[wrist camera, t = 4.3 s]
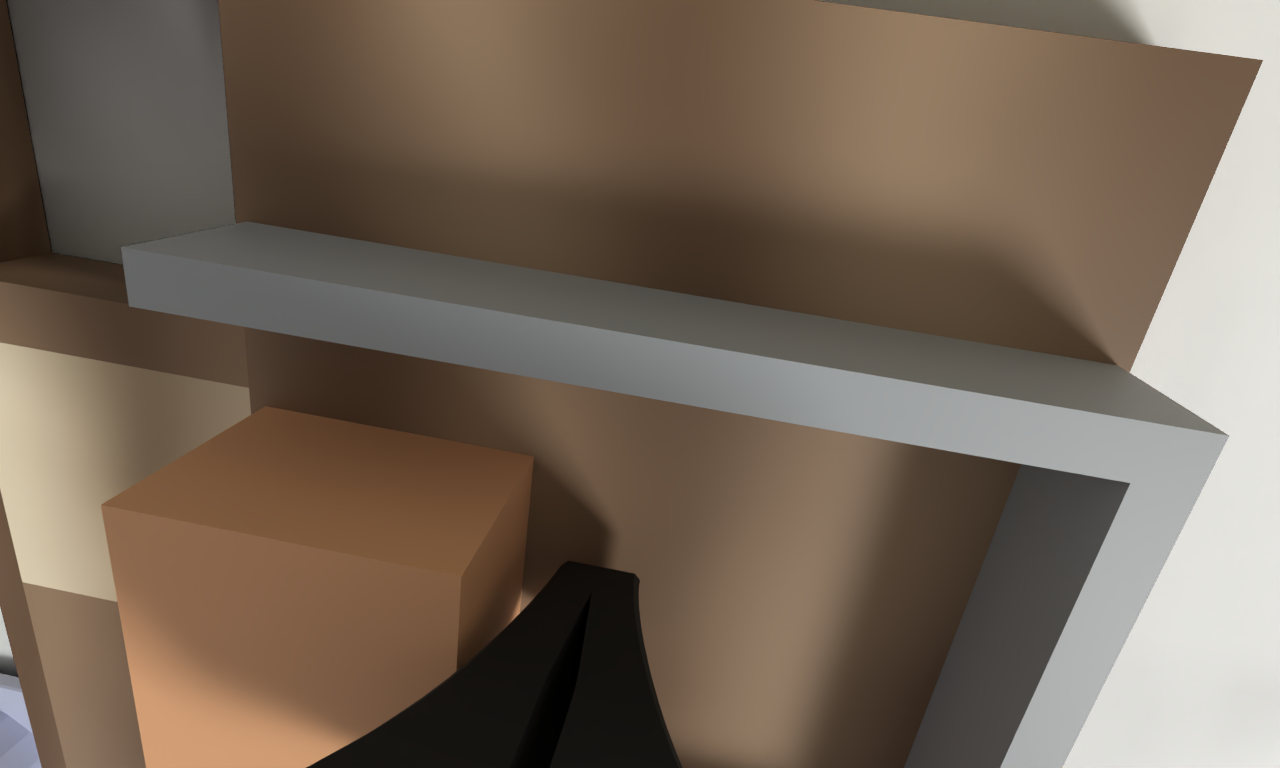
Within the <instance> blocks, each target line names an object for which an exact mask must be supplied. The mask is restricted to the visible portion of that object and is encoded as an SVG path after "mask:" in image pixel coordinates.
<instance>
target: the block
mask: <svg viewBox="0 0 1280 768" xmlns="http://www.w3.org/2000/svg"><path fill="white" fill-rule="evenodd" d="M533 463H534V456H530V455H525V454H520V453H514V452H509V451H504V450H498V449H493V448H487V447H482V446H477V445H471V444H466V443H461V442H455V441H450V440H444V439H439V438H434V437H428V436H423V435H418V434H412V433H407V432H401V431H396V430H391V429H385V428H380V427H375V426H369V425H364V424H358V423H353V422H348V421H342V420H337V419H332V418H326V417H321V416H315V415H310V414H305V413H299V412H294V411H289V410H283V409H278V408H273V407H267V406H265V407H263V408H262V409H260V410H258V411H257V412H255V413H253V414H252V415H250V416H248V417H247V418H245V419H243V420H242V421H240V422H238V423H237V424H235V425H233V426H232V427H230V428H228V429H227V430H225V431H223V432H222V433H220V434H218V435H217V436H215V437H213V438H212V439H210V440H208V441H207V442H205V443H203V444H202V445H200V446H198V447H196V448H195V449H193V450H191V451H190V452H188V453H186V454H185V455H183V456H181V457H180V458H178V459H176V460H175V461H173V462H171V463H170V464H168V465H166V466H165V467H163V468H161V469H160V470H158V471H156V472H155V473H153V474H151V475H150V476H148V477H146V478H145V479H143V480H141V481H140V482H138V483H136V484H135V485H133V486H131V487H130V488H128V489H126V490H125V491H123V492H121V493H120V494H118V495H116V496H115V497H113V498H111V499H110V500H108V501H106V502H105V503H103V504H101V509H102V515H103V521H104V526H105V532H106V538H107V544H108V550H109V555H110V561H111V567H112V573H113V579H114V584H115V590H116V596H117V602H118V608H119V613H120V619H121V625H122V631H123V637H124V642H125V648H126V654H127V660H128V666H129V671H130V677H131V683H132V689H133V695H134V701H135V706H136V712H137V718H138V724H139V730H140V735H141V741H142V747H143V753H144V759H145V764H146V768H306V767H308V766H310V765H312V764H314V763H316V762H317V761H319V760H321V759H323V758H325V757H326V756H328V755H330V754H332V753H334V752H335V751H337V750H339V749H341V748H342V747H344V746H346V745H348V744H350V743H351V742H353V741H355V740H357V739H359V738H360V737H362V736H364V735H366V734H367V733H369V732H371V731H372V730H374V729H375V728H377V727H379V726H380V725H382V724H383V723H385V722H387V721H388V720H390V719H391V718H393V717H394V716H396V715H397V714H399V713H400V712H401V711H403V710H404V709H406V708H407V707H409V706H410V705H412V704H413V703H415V702H416V701H418V700H419V699H421V698H422V697H423V696H425V695H426V694H428V693H429V692H430V691H432V690H433V689H434V688H436V687H437V686H438V685H440V684H441V683H442V682H444V681H445V680H446V679H447V678H449V677H450V676H451V675H453V674H454V673H455V672H456V671H457V670H459V669H460V668H461V667H462V666H464V665H465V664H466V663H467V662H468V661H469V660H471V659H472V658H473V657H474V656H475V655H476V654H477V653H478V652H480V651H481V650H482V649H483V648H484V647H485V646H486V645H487V644H488V643H490V642H491V641H492V640H493V639H494V638H495V637H496V636H497V635H498V634H499V633H501V632H502V631H503V630H504V629H505V628H506V627H507V626H508V625H509V624H510V623H511V622H512V621H513V620H514V619H515V618H516V617H517V615H518V614H519V613H520V605H521V594H522V583H523V572H524V561H525V550H526V539H527V528H528V517H529V506H530V495H531V485H532V474H533Z"/></svg>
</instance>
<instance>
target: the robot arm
mask: <svg viewBox="0 0 1280 768" xmlns="http://www.w3.org/2000/svg"><path fill="white" fill-rule="evenodd" d="M639 583H640V580H639V578H638V577H637V576H636V574H635V573H630V572H624V571H619V570H614V569H609V568H604V567H599V566H594V565H589V564H584V563H579V562H573V561H567V562H565V563H563V564H562V565H561V566H560V567H559V569H558V570H557V572H556V573H555V574H554V575H553V577H552V578H551V579H550V580H549V582H548V583H547V584H546V585H545V586H544V587H543V589H542V590H541V591H540V592H539V593H538V594H537V595H536V596H535V598H534V599H533V600H532V601H531V602H530V603H529V604H528V605H527V606H526V607H525V608H524V609H523V610H522V611H521V612H520V613H519V614H518V615H517V617H516V618H515V619H514V620H513V621H512V622H511V623H510V624H509V625H508V626H507V627H506V628H505V629H504V630H503V631H502V632H501V633H499V634H498V635H497V636H496V637H495V638H494V639H493V640H492V641H491V642H490V643H488V644H487V645H486V646H485V647H484V648H483V649H482V650H481V651H480V652H478V653H477V654H476V655H475V656H474V657H473V658H472V659H471V660H469V661H468V662H467V663H466V664H465V665H464V666H462V667H461V668H460V669H459V670H457V671H456V672H455V673H454V674H453V675H451V676H450V677H449V678H447V679H446V680H445V681H444V682H442V683H441V684H440V685H438V686H437V687H436V688H434V689H433V690H432V691H430V692H429V693H428V694H426V695H425V696H423V697H422V698H421V699H419V700H418V701H416V702H415V703H413V704H412V705H410V706H409V707H407V708H406V709H404V710H403V711H401V712H400V713H399V714H397V715H396V716H394V717H393V718H391V719H390V720H388V721H387V722H385V723H383V724H382V725H380V726H379V727H377V728H375V729H374V730H372V731H371V732H369V733H367V734H366V735H364V736H362V737H360V738H359V739H357V740H355V741H353V742H351V743H350V744H348V745H346V746H344V747H342V748H341V749H339V750H337V751H335V752H334V753H332V754H330V755H328V756H326V757H325V758H323V759H321V760H319V761H317V762H316V763H314V764H312V765H310V766H308V767H306V768H683V767H682V765H681V763H680V760H679V758H678V755H677V753H676V750H675V748H674V745H673V742H672V740H671V737H670V734H669V732H668V729H667V726H666V723H665V720H664V717H663V714H662V711H661V708H660V705H659V701H658V698H657V694H656V691H655V687H654V684H653V680H652V676H651V672H650V668H649V664H648V659H647V654H646V649H645V645H644V640H643V634H642V628H641V620H640V611H639ZM0 768H42V767H41V763H40V759H39V755H38V752H37V748H36V744H35V740H34V736H33V732H32V728H31V724H30V720H29V717H28V713H27V709H26V705H25V701H24V697H23V693H22V689H21V685H20V681H19V678H18V677H15V676H11V675H6V674H2V673H0Z"/></svg>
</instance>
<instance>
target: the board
mask: <svg viewBox="0 0 1280 768" xmlns="http://www.w3.org/2000/svg"><path fill="white" fill-rule="evenodd" d="M218 5H219V18H220V30H221V43H222V55H223V68H224V81H225V93H226V106H227V118H228V131H229V143H230V156H231V169H232V181H233V194H234V206H235V219H236V224H237V223H242V222H253V223H259V224H265V225H271V226H277V227H283V228H289V229H295V230H302V231H308V232H314V233H320V234H326V235H332V236H338V237H344V238H350V239H356V240H362V241H368V242H374V243H380V244H386V245H392V246H398V247H404V248H410V249H416V250H423V251H429V252H435V253H441V254H447V255H453V256H459V257H465V258H471V259H477V260H483V261H489V262H495V263H501V264H507V265H513V266H519V267H525V268H531V269H538V270H544V271H550V272H556V273H562V274H568V275H574V276H580V277H586V278H592V279H598V280H604V281H610V282H616V283H622V284H628V285H634V286H640V287H646V288H652V289H659V290H665V291H671V292H677V293H683V294H689V295H695V296H701V297H707V298H713V299H719V300H725V301H731V302H737V303H743V304H749V305H755V306H761V307H767V308H773V309H780V310H786V311H792V312H798V313H804V314H810V315H816V316H822V317H828V318H834V319H840V320H846V321H852V322H858V323H864V324H870V325H876V326H882V327H888V328H895V329H901V330H907V331H913V332H919V333H925V334H931V335H937V336H943V337H949V338H955V339H961V340H967V341H973V342H979V343H985V344H991V345H997V346H1003V347H1009V348H1016V349H1022V350H1028V351H1034V352H1040V353H1046V354H1052V355H1058V356H1064V357H1070V358H1076V359H1082V360H1088V361H1094V362H1100V363H1106V364H1112V365H1118V366H1119V367H1121V368H1123V369H1124V370H1126V371H1127V372H1130V370H1131V367H1132V365H1133V363H1134V360H1135V358H1136V356H1137V353H1138V351H1139V349H1140V346H1141V344H1142V342H1143V339H1144V337H1145V335H1146V332H1147V330H1148V328H1149V325H1150V323H1151V321H1152V318H1153V316H1154V314H1155V311H1156V309H1157V307H1158V304H1159V302H1160V300H1161V297H1162V295H1163V293H1164V290H1165V288H1166V286H1167V283H1168V281H1169V279H1170V276H1171V274H1172V272H1173V269H1174V267H1175V265H1176V262H1177V260H1178V258H1179V255H1180V253H1181V251H1182V248H1183V246H1184V244H1185V241H1186V239H1187V237H1188V234H1189V232H1190V230H1191V227H1192V225H1193V223H1194V220H1195V218H1196V216H1197V213H1198V211H1199V209H1200V206H1201V204H1202V202H1203V199H1204V197H1205V195H1206V192H1207V190H1208V188H1209V185H1210V183H1211V181H1212V178H1213V176H1214V174H1215V171H1216V169H1217V166H1218V164H1219V162H1220V159H1221V157H1222V155H1223V152H1224V150H1225V148H1226V145H1227V143H1228V141H1229V138H1230V136H1231V134H1232V131H1233V129H1234V127H1235V124H1236V122H1237V120H1238V117H1239V115H1240V113H1241V110H1242V108H1243V106H1244V103H1245V101H1246V99H1247V96H1248V94H1249V92H1250V89H1251V87H1252V85H1253V82H1254V80H1255V78H1256V75H1257V73H1258V71H1259V68H1260V66H1261V64H1262V61H1263V60H1257V59H1250V58H1242V57H1235V56H1227V55H1220V54H1212V53H1205V52H1197V51H1190V50H1182V49H1175V48H1167V47H1160V46H1152V45H1145V44H1138V43H1130V42H1123V41H1115V40H1108V39H1100V38H1093V37H1085V36H1078V35H1070V34H1063V33H1055V32H1048V31H1040V30H1033V29H1025V28H1018V27H1010V26H1003V25H995V24H988V23H980V22H973V21H965V20H958V19H951V18H943V17H936V16H928V15H921V14H913V13H906V12H898V11H891V10H883V9H876V8H868V7H861V6H853V5H846V4H838V3H831V2H823V1H816V0H218ZM265 406H267V407H273V408H278V409H283V410H289V411H294V412H299V413H305V414H310V415H315V416H321V417H326V418H332V419H337V420H342V421H348V422H353V423H358V424H364V425H369V426H375V427H380V428H385V429H391V430H396V431H401V432H407V433H412V434H418V435H423V436H428V437H434V438H439V439H444V440H450V441H455V442H461V443H466V444H471V445H477V446H482V447H487V448H493V449H498V450H504V451H509V452H514V453H520V454H525V455H530V456H534V463H533V474H532V485H531V495H530V506H529V517H528V528H527V539H526V550H525V561H524V572H523V583H522V594H521V605H520V612H521V611H522V610H523V609H524V608H525V607H526V606H527V605H528V604H529V603H530V602H531V601H532V600H533V599H534V598H535V596H536V595H537V594H538V593H539V592H540V591H541V590H542V589H543V587H544V586H545V585H546V584H547V583H548V582H549V580H550V579H551V578H552V577H553V575H554V574H555V573H556V572H557V570H558V569H559V567H560V566H561V565H562V564H563V563H565V562H567V561H573V562H579V563H584V564H589V565H594V566H599V567H604V568H609V569H614V570H619V571H624V572H630V573H635V574H636V576H637V577H638V578H639V580H640V583H639V611H640V620H641V628H642V634H643V640H644V645H645V649H646V654H647V659H648V664H649V668H650V672H651V676H652V680H653V684H654V687H655V691H656V694H657V698H658V701H659V705H660V708H661V711H662V714H663V717H664V720H665V723H666V726H667V729H668V732H669V734H670V737H671V740H672V742H673V745H674V748H675V750H676V753H677V755H678V758H679V760H680V763H681V765H682V767H683V768H904V766H905V764H906V761H907V759H908V756H909V753H910V751H911V748H912V746H913V743H914V741H915V738H916V735H917V733H918V730H919V728H920V725H921V722H922V720H923V717H924V715H925V712H926V709H927V707H928V704H929V702H930V699H931V696H932V694H933V691H934V689H935V686H936V684H937V681H938V678H939V676H940V673H941V671H942V668H943V665H944V663H945V660H946V658H947V655H948V652H949V650H950V647H951V645H952V642H953V639H954V637H955V634H956V632H957V629H958V627H959V624H960V621H961V619H962V616H963V614H964V611H965V608H966V606H967V603H968V601H969V598H970V595H971V593H972V590H973V588H974V585H975V582H976V580H977V577H978V575H979V572H980V570H981V567H982V564H983V562H984V559H985V557H986V554H987V551H988V549H989V546H990V544H991V541H992V538H993V536H994V533H995V531H996V528H997V525H998V523H999V520H1000V518H1001V515H1002V513H1003V510H1004V507H1005V505H1006V502H1007V500H1008V497H1009V494H1010V492H1011V489H1012V487H1013V484H1014V481H1015V479H1016V476H1017V474H1018V471H1019V468H1020V466H1021V464H1019V463H1014V462H1008V461H1002V460H997V459H991V458H985V457H980V456H974V455H968V454H963V453H957V452H951V451H946V450H940V449H934V448H929V447H923V446H917V445H912V444H906V443H900V442H895V441H889V440H883V439H878V438H872V437H866V436H861V435H855V434H849V433H844V432H838V431H832V430H827V429H821V428H815V427H810V426H804V425H798V424H793V423H787V422H781V421H776V420H770V419H764V418H759V417H753V416H747V415H742V414H736V413H730V412H725V411H719V410H713V409H708V408H702V407H696V406H691V405H685V404H679V403H674V402H668V401H662V400H657V399H651V398H645V397H640V396H634V395H628V394H623V393H617V392H611V391H606V390H600V389H594V388H589V387H583V386H577V385H572V384H566V383H560V382H555V381H549V380H543V379H538V378H532V377H526V376H521V375H515V374H509V373H504V372H498V371H492V370H487V369H481V368H475V367H470V366H464V365H458V364H453V363H447V362H441V361H436V360H430V359H424V358H419V357H413V356H407V355H402V354H396V353H390V352H385V351H379V350H373V349H368V348H362V347H356V346H351V345H345V344H339V343H334V342H328V341H322V340H317V339H311V338H305V337H300V336H294V335H288V334H283V333H277V332H271V331H266V330H260V329H254V328H249V327H243V326H237V325H232V324H226V323H220V322H215V321H209V320H203V319H198V318H192V317H186V316H181V315H175V314H169V313H164V312H158V311H152V310H147V309H141V308H135V307H130V306H129V302H128V295H127V288H126V281H125V274H124V267H123V265H120V264H114V263H108V262H102V261H96V260H91V259H85V258H79V257H73V256H67V255H61V254H56V253H51V248H50V242H49V237H48V231H47V225H46V220H45V214H44V209H43V203H42V198H41V192H40V187H39V181H38V175H37V170H36V164H35V159H34V153H33V148H32V142H31V137H30V131H29V125H28V120H27V114H26V109H25V103H24V98H23V92H22V87H21V81H20V76H19V70H18V64H17V59H16V53H15V48H14V42H13V37H12V31H11V26H10V20H9V14H8V9H7V3H6V0H0V607H1V611H2V615H3V619H4V623H5V627H6V631H7V635H8V639H9V642H10V646H11V650H12V654H13V658H14V662H15V666H16V670H17V674H18V678H19V681H20V685H21V689H22V693H23V697H24V701H25V705H26V709H27V713H28V717H29V720H30V724H31V728H32V732H33V736H34V740H35V744H36V748H37V752H38V755H39V759H40V763H41V767H42V768H146V764H145V759H144V753H143V747H142V741H141V735H140V730H139V724H138V718H137V712H136V706H135V701H134V695H133V689H132V683H131V677H130V671H129V666H128V660H127V654H126V648H125V642H124V637H123V631H122V625H121V619H120V613H119V608H118V602H117V596H116V590H115V584H114V579H113V573H112V567H111V561H110V555H109V550H108V544H107V538H106V532H105V526H104V521H103V515H102V509H101V504H103V503H105V502H106V501H108V500H110V499H111V498H113V497H115V496H116V495H118V494H120V493H121V492H123V491H125V490H126V489H128V488H130V487H131V486H133V485H135V484H136V483H138V482H140V481H141V480H143V479H145V478H146V477H148V476H150V475H151V474H153V473H155V472H156V471H158V470H160V469H161V468H163V467H165V466H166V465H168V464H170V463H171V462H173V461H175V460H176V459H178V458H180V457H181V456H183V455H185V454H186V453H188V452H190V451H191V450H193V449H195V448H196V447H198V446H200V445H202V444H203V443H205V442H207V441H208V440H210V439H212V438H213V437H215V436H217V435H218V434H220V433H222V432H223V431H225V430H227V429H228V428H230V427H232V426H233V425H235V424H237V423H238V422H240V421H242V420H243V419H245V418H247V417H248V416H250V415H252V414H253V413H255V412H257V411H258V410H260V409H262V408H263V407H265Z"/></svg>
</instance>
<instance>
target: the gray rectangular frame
mask: <svg viewBox="0 0 1280 768" xmlns="http://www.w3.org/2000/svg"><path fill="white" fill-rule="evenodd" d="M121 253H122V260H123V267H124V274H125V281H126V288H127V295H128V302H129V306H130V307H135V308H141V309H147V310H152V311H158V312H164V313H169V314H175V315H181V316H186V317H192V318H198V319H203V320H209V321H215V322H220V323H226V324H232V325H237V326H243V327H249V328H254V329H260V330H266V331H271V332H277V333H283V334H288V335H294V336H300V337H305V338H311V339H317V340H322V341H328V342H334V343H339V344H345V345H351V346H356V347H362V348H368V349H373V350H379V351H385V352H390V353H396V354H402V355H407V356H413V357H419V358H424V359H430V360H436V361H441V362H447V363H453V364H458V365H464V366H470V367H475V368H481V369H487V370H492V371H498V372H504V373H509V374H515V375H521V376H526V377H532V378H538V379H543V380H549V381H555V382H560V383H566V384H572V385H577V386H583V387H589V388H594V389H600V390H606V391H611V392H617V393H623V394H628V395H634V396H640V397H645V398H651V399H657V400H662V401H668V402H674V403H679V404H685V405H691V406H696V407H702V408H708V409H713V410H719V411H725V412H730V413H736V414H742V415H747V416H753V417H759V418H764V419H770V420H776V421H781V422H787V423H793V424H798V425H804V426H810V427H815V428H821V429H827V430H832V431H838V432H844V433H849V434H855V435H861V436H866V437H872V438H878V439H883V440H889V441H895V442H900V443H906V444H912V445H917V446H923V447H929V448H934V449H940V450H946V451H951V452H957V453H963V454H968V455H974V456H980V457H985V458H991V459H997V460H1002V461H1008V462H1014V463H1019V464H1021V466H1020V468H1019V471H1018V474H1017V476H1016V479H1015V481H1014V484H1013V487H1012V489H1011V492H1010V494H1009V497H1008V500H1007V502H1006V505H1005V507H1004V510H1003V513H1002V515H1001V518H1000V520H999V523H998V525H997V528H996V531H995V533H994V536H993V538H992V541H991V544H990V546H989V549H988V551H987V554H986V557H985V559H984V562H983V564H982V567H981V570H980V572H979V575H978V577H977V580H976V582H975V585H974V588H973V590H972V593H971V595H970V598H969V601H968V603H967V606H966V608H965V611H964V614H963V616H962V619H961V621H960V624H959V627H958V629H957V632H956V634H955V637H954V639H953V642H952V645H951V647H950V650H949V652H948V655H947V658H946V660H945V663H944V665H943V668H942V671H941V673H940V676H939V678H938V681H937V684H936V686H935V689H934V691H933V694H932V696H931V699H930V702H929V704H928V707H927V709H926V712H925V715H924V717H923V720H922V722H921V725H920V728H919V730H918V733H917V735H916V738H915V741H914V743H913V746H912V748H911V751H910V753H909V756H908V759H907V761H906V764H905V766H904V768H1062V767H1063V765H1064V763H1065V761H1066V759H1067V757H1068V755H1069V753H1070V751H1071V749H1072V747H1073V745H1074V743H1075V741H1076V739H1077V737H1078V735H1079V733H1080V731H1081V729H1082V727H1083V725H1084V723H1085V721H1086V719H1087V717H1088V715H1089V713H1090V711H1091V709H1092V707H1093V705H1094V703H1095V701H1096V699H1097V697H1098V695H1099V693H1100V691H1101V689H1102V687H1103V685H1104V683H1105V681H1106V679H1107V677H1108V675H1109V673H1110V671H1111V669H1112V667H1113V665H1114V663H1115V661H1116V659H1117V657H1118V655H1119V653H1120V651H1121V649H1122V647H1123V646H1124V644H1125V642H1126V640H1127V638H1128V636H1129V634H1130V632H1131V630H1132V628H1133V626H1134V624H1135V622H1136V620H1137V618H1138V616H1139V614H1140V612H1141V610H1142V608H1143V606H1144V604H1145V602H1146V600H1147V598H1148V596H1149V594H1150V592H1151V590H1152V588H1153V586H1154V584H1155V582H1156V580H1157V578H1158V576H1159V574H1160V572H1161V570H1162V568H1163V566H1164V564H1165V562H1166V560H1167V558H1168V556H1169V554H1170V552H1171V550H1172V548H1173V546H1174V544H1175V542H1176V540H1177V538H1178V536H1179V534H1180V532H1181V530H1182V528H1183V526H1184V524H1185V522H1186V520H1187V518H1188V516H1189V514H1190V512H1191V510H1192V509H1193V507H1194V505H1195V503H1196V501H1197V499H1198V497H1199V495H1200V493H1201V491H1202V489H1203V487H1204V485H1205V483H1206V481H1207V479H1208V477H1209V475H1210V473H1211V471H1212V469H1213V467H1214V465H1215V463H1216V461H1217V459H1218V457H1219V455H1220V453H1221V451H1222V449H1223V447H1224V445H1225V443H1226V441H1227V439H1228V437H1229V435H1227V434H1225V433H1224V432H1222V431H1221V430H1219V429H1218V428H1216V427H1214V426H1213V425H1211V424H1210V423H1208V422H1206V421H1205V420H1203V419H1202V418H1200V417H1199V416H1197V415H1195V414H1194V413H1192V412H1191V411H1189V410H1187V409H1186V408H1184V407H1183V406H1181V405H1180V404H1178V403H1176V402H1175V401H1173V400H1172V399H1170V398H1168V397H1167V396H1165V395H1164V394H1162V393H1161V392H1159V391H1157V390H1156V389H1154V388H1153V387H1151V386H1149V385H1148V384H1146V383H1145V382H1143V381H1142V380H1140V379H1138V378H1137V377H1135V376H1134V375H1132V374H1130V373H1129V372H1127V371H1126V370H1124V369H1123V368H1121V367H1119V366H1118V365H1112V364H1106V363H1100V362H1094V361H1088V360H1082V359H1076V358H1070V357H1064V356H1058V355H1052V354H1046V353H1040V352H1034V351H1028V350H1022V349H1016V348H1009V347H1003V346H997V345H991V344H985V343H979V342H973V341H967V340H961V339H955V338H949V337H943V336H937V335H931V334H925V333H919V332H913V331H907V330H901V329H895V328H888V327H882V326H876V325H870V324H864V323H858V322H852V321H846V320H840V319H834V318H828V317H822V316H816V315H810V314H804V313H798V312H792V311H786V310H780V309H773V308H767V307H761V306H755V305H749V304H743V303H737V302H731V301H725V300H719V299H713V298H707V297H701V296H695V295H689V294H683V293H677V292H671V291H665V290H659V289H652V288H646V287H640V286H634V285H628V284H622V283H616V282H610V281H604V280H598V279H592V278H586V277H580V276H574V275H568V274H562V273H556V272H550V271H544V270H538V269H531V268H525V267H519V266H513V265H507V264H501V263H495V262H489V261H483V260H477V259H471V258H465V257H459V256H453V255H447V254H441V253H435V252H429V251H423V250H416V249H410V248H404V247H398V246H392V245H386V244H380V243H374V242H368V241H362V240H356V239H350V238H344V237H338V236H332V235H326V234H320V233H314V232H308V231H302V230H295V229H289V228H283V227H277V226H271V225H265V224H259V223H253V222H242V223H237V224H232V225H227V226H222V227H217V228H212V229H208V230H203V231H198V232H193V233H188V234H183V235H178V236H173V237H168V238H163V239H158V240H153V241H148V242H143V243H138V244H133V245H128V246H123V247H121Z"/></svg>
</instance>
